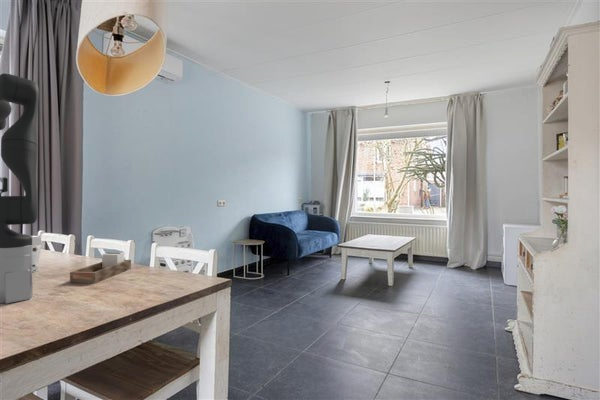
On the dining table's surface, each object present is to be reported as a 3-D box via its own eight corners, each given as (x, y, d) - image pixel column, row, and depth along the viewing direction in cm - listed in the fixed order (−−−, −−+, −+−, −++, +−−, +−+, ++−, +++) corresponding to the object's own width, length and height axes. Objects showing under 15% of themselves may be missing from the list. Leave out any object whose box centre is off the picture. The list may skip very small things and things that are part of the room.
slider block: (109, 265, 149) (109, 251, 148) (124, 266, 148) (124, 251, 148) (102, 268, 144) (102, 253, 143) (117, 268, 143) (117, 253, 143)
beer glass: (16, 272, 141) (15, 237, 141) (33, 268, 148) (33, 235, 147) (27, 273, 139) (27, 238, 139) (45, 270, 146) (44, 235, 145)
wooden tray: (109, 268, 151) (109, 259, 151) (130, 268, 151) (130, 259, 151) (70, 282, 127) (69, 272, 127) (95, 283, 127) (95, 272, 127)
